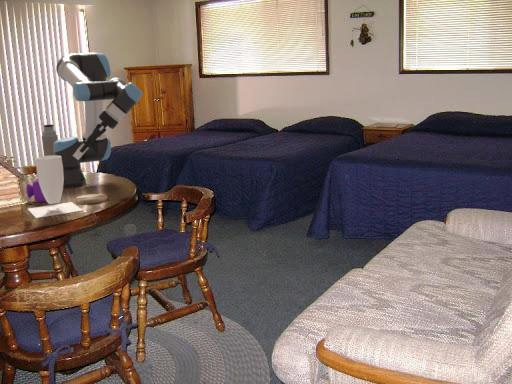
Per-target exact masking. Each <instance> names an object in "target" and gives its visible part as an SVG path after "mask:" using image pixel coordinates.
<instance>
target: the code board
mask: <svg viewBox="0 0 512 384" xmlns="http://www.w3.org/2000/svg"><path fill="white" fill-rule="evenodd" d="M27 210H28V212H29V213H31V215H32V216H33V217H34V218H36V219H40V218H46V217H53V216H59V215H64V214H70V213H71V214H72V213H78V212H83V211H84V210H83V209H82V208H81V207H80V206H78V205H77V204H75V203H74V202H73V201H70V202H64V203H55V204H48V205H43V206H38V207H37V206H36V207H29V208H27Z"/></svg>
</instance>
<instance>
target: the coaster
mask: <svg viewBox="0 0 512 384" xmlns="http://www.w3.org/2000/svg"><path fill="white" fill-rule="evenodd" d="M106 201H108V195H107V194H104V193H89V194H83V195H79V196H76V198H75V203H77V204H79V205H92V204H95V205H96V204H98V203H103V202H106Z"/></svg>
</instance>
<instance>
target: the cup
mask: <svg viewBox="0 0 512 384" xmlns="http://www.w3.org/2000/svg"><path fill="white" fill-rule="evenodd" d="M35 166H36V174H37V179H38V181H39V185H40V187H41V190H42V193H43V195H44V197H45V199H46V201H47V202H46V203H47V204H48V205H56V204H60V202H61V199H62V196H63V190H64V188H63V183H64V174H63V164H62V158H61V156H57V155H53V156H44V155H43V156H39V157H36V158H35Z"/></svg>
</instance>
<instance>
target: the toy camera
mask: <svg viewBox="0 0 512 384" xmlns="http://www.w3.org/2000/svg"><path fill="white" fill-rule="evenodd" d="M25 193H26V195H27V198H28V199H31V198H32V197H33V196H34V201H35V202H36V203H48V202H47V201H46V199H45V197H44V195H43V193H42V190H41V187H40V185H39V181H38V178H36V179H34V181H33V183H32V184H30V183H27V184H26V187H25Z"/></svg>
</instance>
